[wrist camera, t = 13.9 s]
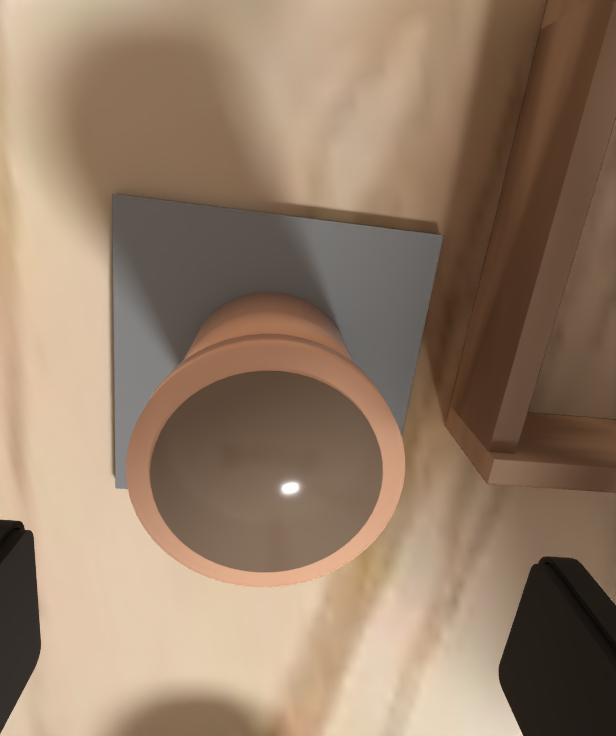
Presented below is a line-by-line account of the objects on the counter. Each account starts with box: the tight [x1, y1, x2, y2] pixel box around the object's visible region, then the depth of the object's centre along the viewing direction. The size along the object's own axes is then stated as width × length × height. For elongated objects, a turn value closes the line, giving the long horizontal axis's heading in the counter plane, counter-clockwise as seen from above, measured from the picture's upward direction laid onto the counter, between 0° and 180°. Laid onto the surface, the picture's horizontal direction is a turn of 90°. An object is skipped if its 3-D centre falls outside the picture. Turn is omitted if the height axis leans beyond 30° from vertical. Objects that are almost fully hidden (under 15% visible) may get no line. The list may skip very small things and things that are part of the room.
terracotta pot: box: [126, 292, 405, 587], centre depth 16 cm, size 7×7×8 cm
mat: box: [112, 194, 443, 489], centre depth 20 cm, size 12×12×1 cm
